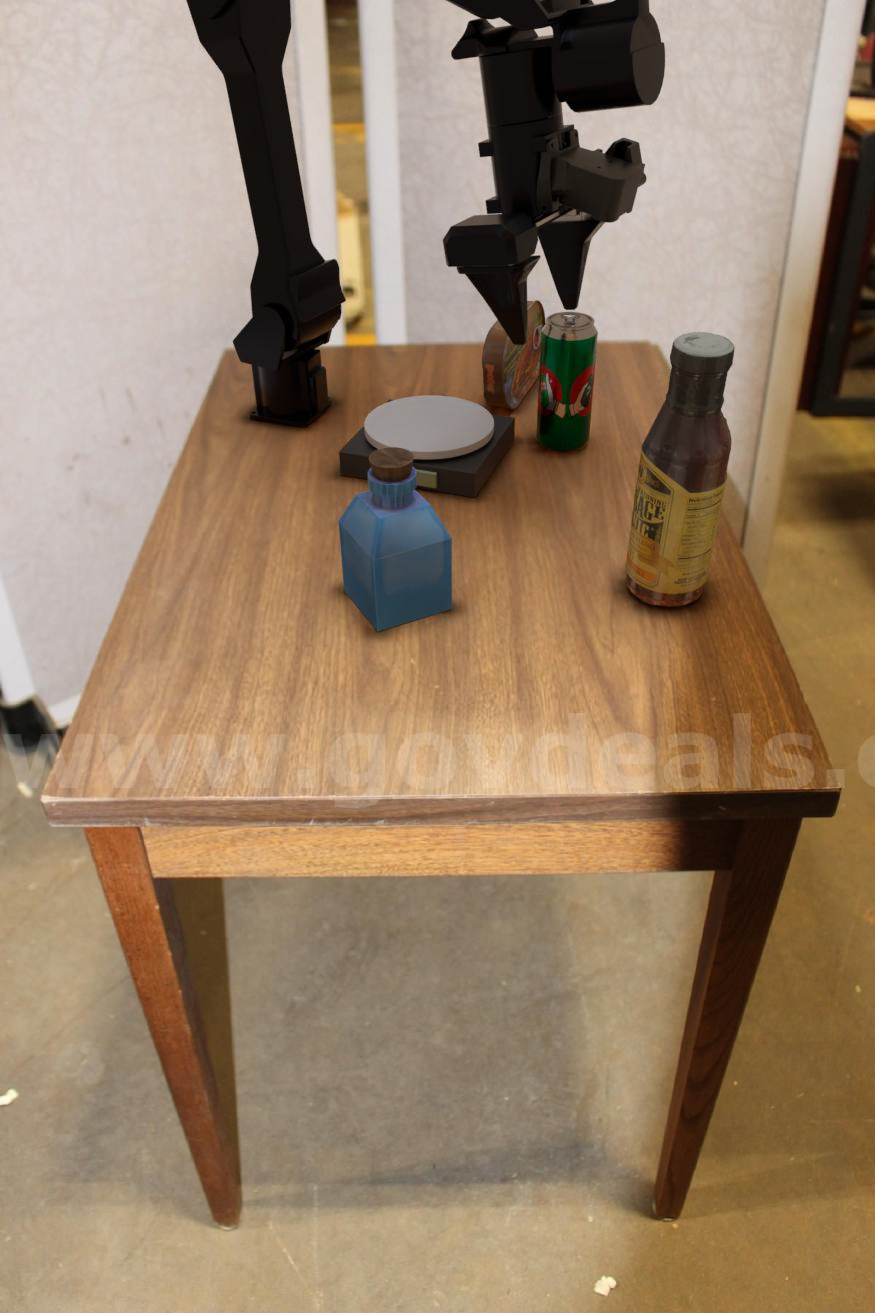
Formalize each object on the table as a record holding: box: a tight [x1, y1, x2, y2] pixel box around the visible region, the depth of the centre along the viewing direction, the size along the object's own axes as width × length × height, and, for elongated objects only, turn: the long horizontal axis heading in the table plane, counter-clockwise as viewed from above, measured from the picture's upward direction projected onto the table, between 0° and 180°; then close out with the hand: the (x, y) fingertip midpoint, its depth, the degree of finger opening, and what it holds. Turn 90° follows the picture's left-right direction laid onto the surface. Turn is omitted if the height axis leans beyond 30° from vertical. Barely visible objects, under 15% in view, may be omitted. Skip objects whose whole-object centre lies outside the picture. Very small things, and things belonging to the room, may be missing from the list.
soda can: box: [535, 311, 599, 453], centre depth 99 cm, size 5×5×12 cm
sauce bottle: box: [625, 331, 736, 608], centre depth 76 cm, size 6×6×20 cm
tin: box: [481, 299, 546, 410], centre depth 110 cm, size 15×3×8 cm, turn 160°
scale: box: [338, 394, 516, 498], centre depth 99 cm, size 13×12×4 cm
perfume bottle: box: [338, 447, 453, 633], centre depth 78 cm, size 6×6×12 cm
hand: (546, 326), depth 88 cm, fingers open, 9 cm apart
